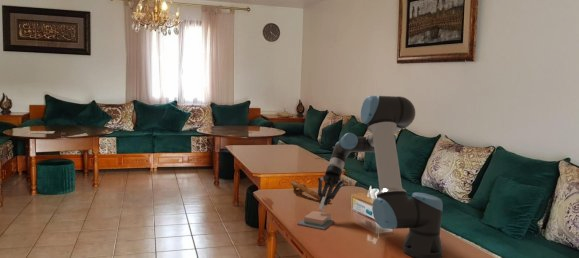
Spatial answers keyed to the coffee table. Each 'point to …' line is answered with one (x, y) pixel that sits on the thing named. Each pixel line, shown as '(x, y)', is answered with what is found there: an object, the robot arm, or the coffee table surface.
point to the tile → (317, 218)
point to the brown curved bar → (306, 190)
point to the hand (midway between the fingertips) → (320, 210)
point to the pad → (315, 225)
